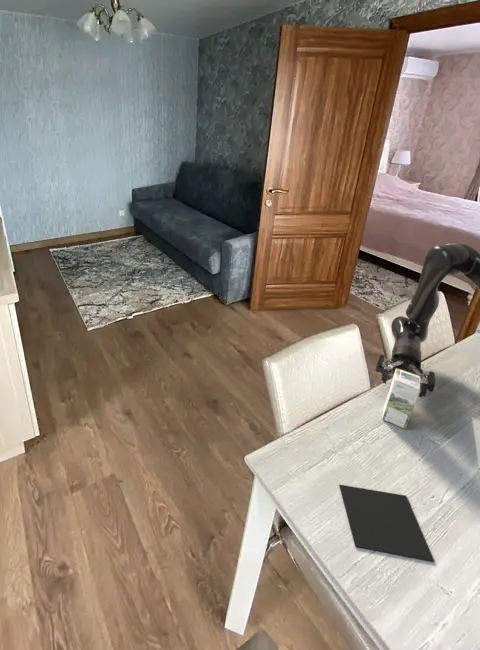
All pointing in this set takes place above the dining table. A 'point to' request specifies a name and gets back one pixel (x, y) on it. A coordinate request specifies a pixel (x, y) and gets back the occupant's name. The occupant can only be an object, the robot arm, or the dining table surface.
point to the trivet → (384, 523)
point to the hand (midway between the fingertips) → (402, 387)
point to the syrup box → (401, 398)
